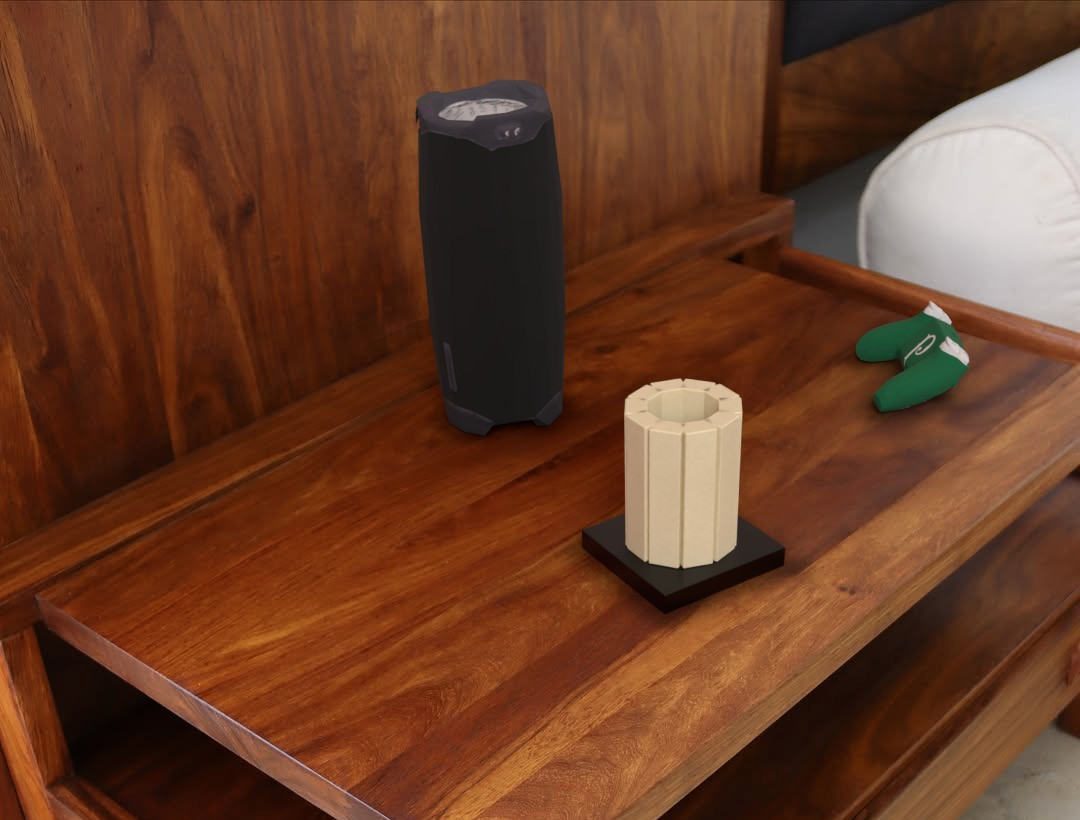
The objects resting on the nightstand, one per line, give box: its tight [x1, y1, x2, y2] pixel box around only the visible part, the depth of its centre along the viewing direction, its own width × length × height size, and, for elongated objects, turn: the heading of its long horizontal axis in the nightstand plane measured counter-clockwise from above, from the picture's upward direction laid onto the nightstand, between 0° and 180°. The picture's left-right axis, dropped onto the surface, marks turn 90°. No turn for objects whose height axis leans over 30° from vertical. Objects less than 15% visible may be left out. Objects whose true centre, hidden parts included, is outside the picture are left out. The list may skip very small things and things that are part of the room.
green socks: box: [855, 300, 971, 413], centre depth 94 cm, size 9×4×6 cm
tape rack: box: [581, 513, 786, 615], centre depth 78 cm, size 8×8×7 cm
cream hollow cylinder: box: [623, 378, 743, 568], centre depth 77 cm, size 6×6×8 cm
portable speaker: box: [414, 79, 566, 437], centre depth 89 cm, size 9×9×20 cm
